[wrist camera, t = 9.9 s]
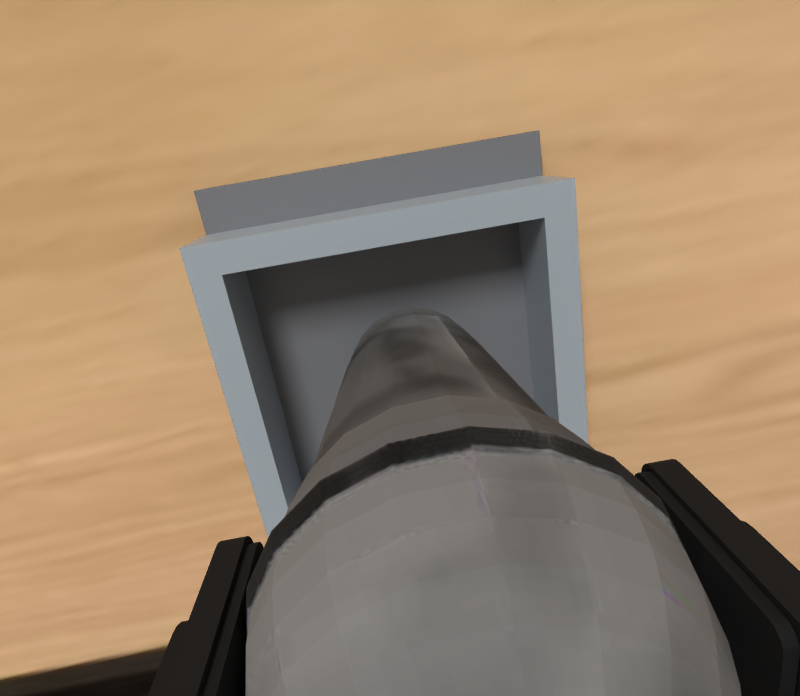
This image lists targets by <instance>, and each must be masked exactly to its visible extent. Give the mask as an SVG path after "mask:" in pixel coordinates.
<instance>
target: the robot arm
mask: <svg viewBox="0 0 800 696" xmlns="http://www.w3.org/2000/svg"><path fill="white" fill-rule="evenodd" d="M635 477H636V478H637V479H639V480H640V481H641V482H642V483H643V484H644V485H645V486H646V487H648V488H649V489H650V490H651V491H652V492H653V493H654V494H656V495H657V496H658V497H659V498H660V499H661V500H662V502H663V504H664V506H665V508H666V510H667V512H668V515H669V517H670V519H671V521H672V523H673V525H674V527H675V529H676V531H677V533H678V535H679V537H680V539H681V541H682V543H683V545H684V548H685V550H686V552H687V554H688V557H689V559H690V561H691V563H692V565H693V567H694V570H695V572H696V574H697V576H698V578H699V580H700V582H701V584H702V586H703V588H704V590H705V592H706V594H707V596H708V598H709V600H710V603H711V605H712V607H713V609H714V611H715V613H716V616H717V618H718V620H719V622H720V624H721V627H722V629H723V631H724V633H725V635H726V638H727V640H728V642H729V646H730V649H731V653H732V657H733V660H734V664H735V668H736V672H737V675H738V679H739V683H740V688H741V696H800V571H799V570H798V569H797V568H796V567H795V566H794V565H792V564H791V563H790V562H789V561H788V560H787V559H786V558H785V557H784V556H783V555H782V554H781V553H780V552H779V551H778V550H776V549H775V548H774V547H773V546H772V545H771V544H770V543H769V542H768V541H767V540H766V539H765V538H764V537H763V536H762V535H760V534H759V533H758V532H757V531H756V530H755V529H754V528H753V527H752V526H750V525H749V524H748V523H746V522H744V521H741V520H739V519H738V518H737V517H736V516H735V515H734V514H733V513H732V512H731V511H730V510H729V509H728V508H727V507H726V506H725V505H724V504H723V503H722V502H721V501H720V500H718V499H717V498H716V497H715V496H714V495H713V494H712V493H711V492H710V491H709V490H708V489H707V488H706V487H705V486H704V485H703V484H702V483H701V482H700V481H698V480H697V479H696V478H695V477H694V476H693V475H692V474H691V473H690V472H689V471H688V470H687V469H686V468H685V467H684V466H683V465H682V464H681V463H680V462H678V461H677V460H675V459H670V460H664V461H659V462H653V463H648V464H645V465H643V467H642V472H641V473H637V474H635ZM263 549H264V548H263V545H262V544H261V542H256V543H253V541H252V539H251V538H250V537H249V536H246V537H241V538H235V539H230V540H224V541H220V542H219V543H218V544H217V546H216V549H215V551H214V554H213V557H212V559H211V562H210V565H209V567H208V570H207V573H206V575H205V578H204V581H203V583H202V586H201V589H200V591H199V594H198V597H197V599H196V602H195V604H194V607H193V610H192V612H191V615H190V618H189V620H188V621H183V622H181V623H180V624H179V625H177V627H176V628H175V630H174V632H173V634H172V637H171V639H170V642H169V644H168V647H167V649H166V652H165V654H164V657H163V659H162V662H161V664H160V667H159V669H158V672H157V674H156V677H155V679H154V682H153V684H152V687H151V689H150V692H149V694H148V696H245V689H246V641H247V633H246V590H247V586H248V583H249V581H250V579H251V577H252V574H253V572H254V570H255V567H256V565H257V563H258V560H259V558H260V556H261V553H262V551H263Z"/></svg>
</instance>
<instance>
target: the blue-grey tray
mask: <svg viewBox="0 0 800 696" xmlns="http://www.w3.org/2000/svg"><path fill="white" fill-rule="evenodd" d="M194 193H195V197H196V200H197V204H198V207H199V211H200V214H201V218H202V221H203V225H204V228H205V232H206V235H205V236H203V237H201V238H199V239H197V240H195V241H193V242H191V243H189V244H187V245H185V246H183V247H181V248H179V249H180V252H181V256H182V259H183V262H184V265H185V269H186V272H187V275H188V278H189V282H190V285H191V288H192V292H193V295H194V298H195V301H196V305H197V308H198V311H199V314H200V318H201V321H202V324H203V327H204V331H205V334H206V337H207V341H208V344H209V347H210V350H211V354H212V357H213V360H214V363H215V367H216V370H217V373H218V377H219V380H220V383H221V386H222V390H223V393H224V396H225V399H226V403H227V406H228V409H229V412H230V416H231V419H232V422H233V426H234V429H235V432H236V435H237V439H238V442H239V445H240V448H241V452H242V455H243V458H244V462H245V465H246V468H247V471H248V475H249V478H250V481H251V484H252V488H253V491H254V494H255V497H256V501H257V504H258V507H259V511H260V514H261V517H262V520H263V524H264V527H265V530H266V533H267V537H269V535H270V533H271V531H272V530H273V529H274V528H275V527H276V526H277V525H278V523H279V522H280V521H281V520H282V519H283V518H284V517H285V515H286V512H287V510H288V508H289V506H290V503H291V502H292V500H293V498H294V496H295V495H296V493H297V491H298V490H299V488H300V486H301V484H302V483H303V481H304V479H305V477H306V476H307V474H308V472H309V471H310V470H311V469H312V468H313V465H314V462H315V459H316V456H317V453H318V450H319V447H320V445H321V442H322V439H323V436H324V433H325V430H326V427H327V424H328V421H329V418H330V415H331V412H332V410H333V407H334V404H335V401H336V398H337V395H338V392H339V389H340V386H341V383H342V380H343V378H344V375H345V372H346V369H347V366H348V364H349V362H350V360H351V357H352V355H353V353H354V350H355V348H356V347H357V345H358V343H359V341H360V338H361V336H362V335H363V334H364V333H365V332H366V331H367V329H368V328H369V327H370V326H371V325H372V324H373V323H374V322H375V321H377V320H378V319H380V318H382V317H384V316H385V315H387V314H389V313H391V312H394V311H398V310H403V309H407V308H422V309H431V310H434V311H436V312H439V313H441V314H443V315H446V316H448V317H450V318H451V319H452V320H453V321H454V322H455V323H457V324H458V325H460V326H461V327H462V328H463V329H464V330H465V331H466V332H468V333H469V334H470V335H471V336H472V337H473V338H474V339H476V340H477V342H478V343H479V344H480V345H481V346H482V347H483V348H484V349H485V350H486V351H487V352H488V353H489V354H490V355H491V356H492V357H493V358H494V359H495V360H496V361H497V363H498V364H499V365H500V366H501V367H502V368H503V369H504V370H505V371H506V372H507V373H508V374H509V375H510V376H511V377H512V378H513V379H514V380H515V381H516V383H517V384H518V385H519V386H520V387H521V388H522V389H523V390H524V391H525V392H526V393H527V394H528V395H529V396H530V397H531V398H532V399H533V400H534V401H535V402H536V404H537V405H538V406H539V407H540V408H541V409H542V410H543V411H544V412H545V413H546V414H547V415H548V416H549V417H551V418H553V419H554V420H556V421H557V422H559V423H560V424H562V425H563V426H564V427H566V428H567V429H569V430H570V431H571V432H573V433H574V434H576V435H577V436H578V437H580V438H581V439H583V440H584V441H585V442H586V443H587V444H588V430H587V409H586V389H585V369H584V349H583V329H582V309H581V288H580V268H579V248H578V228H577V208H576V187H575V178H567V177H554V176H542V162H541V147H540V133H539V130H538V131H533V132H527V133H521V134H515V135H510V136H504V137H498V138H493V139H487V140H481V141H476V142H470V143H464V144H458V145H453V146H447V147H441V148H436V149H430V150H424V151H419V152H413V153H407V154H401V155H396V156H390V157H384V158H379V159H373V160H367V161H362V162H356V163H350V164H344V165H339V166H333V167H327V168H322V169H316V170H310V171H305V172H299V173H293V174H287V175H282V176H276V177H270V178H265V179H259V180H253V181H248V182H242V183H236V184H230V185H225V186H219V187H213V188H208V189H202V190H196V191H194Z"/></svg>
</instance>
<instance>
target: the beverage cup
mask: <svg viewBox="0 0 800 696" xmlns="http://www.w3.org/2000/svg"><path fill="white" fill-rule="evenodd" d="M246 633H247V641H246V689H245V696H741V688H740V683H739V679H738V675H737V672H736V668H735V664H734V660H733V657H732V653H731V649H730V646H729V642H728V640H727V638H726V635H725V633H724V631H723V629H722V627H721V624H720V622H719V620H718V618H717V616H716V613H715V611H714V609H713V607H712V605H711V603H710V600H709V598H708V596H707V594H706V592H705V590H704V588H703V586H702V584H701V582H700V580H699V578H698V576H697V574H696V572H695V570H694V567H693V565H692V563H691V561H690V559H689V557H688V554H687V552H686V550H685V548H684V545H683V543H682V541H681V539H680V537H679V535H678V533H677V531H676V529H675V527H674V525H673V523H672V521H671V519H670V517H669V515H668V512H667V510H666V508H665V506H664V504H663V502H662V500H661V499H660V498H659V497H658V496H657V495H656V494H654V493H653V492H652V491H651V490H650V489H649V488H648V487H646V486H645V485H644V484H643V483H642V482H641V481H640V480H639V479H637V478H636V477H635V476H634V475H633V474H632V473H631V472H629V471H628V470H627V469H626V468H625V467H624V466H623V465H621V464H620V463H619V462H618V461H617V460H616V459H615V458H613V457H611V456H609V455H606V454H603V453H601V452H598V451H596V450H594V449H593V448H592V447H591V446H590V445H589V444H587V443H586V442H585V441H584V440H583V439H581V438H580V437H578V436H577V435H576V434H574V433H573V432H571V431H570V430H569V429H567V428H566V427H564V426H563V425H562V424H560V423H559V422H557V421H556V420H554V419H553V418H551V417H549V416H548V415H547V414H546V413H545V412H544V411H543V410H542V409H541V408H540V407H539V406H538V405H537V404H536V402H535V401H534V400H533V399H532V398H531V397H530V396H529V395H528V394H527V393H526V392H525V391H524V390H523V389H522V388H521V387H520V386H519V385H518V384H517V383H516V381H515V380H514V379H513V378H512V377H511V376H510V375H509V374H508V373H507V372H506V371H505V370H504V369H503V368H502V367H501V366H500V365H499V364H498V363H497V361H496V360H495V359H494V358H493V357H492V356H491V355H490V354H489V353H488V352H487V351H486V350H485V349H484V348H483V347H482V346H481V345H480V344H479V343H478V342H477V340H476V339H474V338H473V337H472V336H471V335H470V334H469V333H468V332H466V331H465V330H464V329H463V328H462V327H461V326H460V325H458V324H457V323H455V322H454V321H453V320H452V319H451V318H450V317H448V316H446V315H443V314H441V313H439V312H436V311H434V310H431V309H422V308H407V309H403V310H398V311H394V312H391V313H389V314H387V315H385V316H384V317H382V318H380V319H378V320H377V321H375V322H374V323H373V324H372V325H371V326H370V327H369V328H368V329H367V331H366V332H365V333H364V334H363V335H362V336H361V338H360V341H359V343H358V345H357V347H356V348H355V350H354V353H353V355H352V357H351V360H350V362H349V364H348V366H347V369H346V372H345V375H344V378H343V380H342V383H341V386H340V389H339V392H338V395H337V398H336V401H335V404H334V407H333V410H332V412H331V415H330V418H329V421H328V424H327V427H326V430H325V433H324V436H323V439H322V442H321V445H320V447H319V450H318V453H317V456H316V459H315V462H314V465H313V468H312V469H311V470H310V471H309V472H308V474H307V476H306V477H305V479H304V481H303V483H302V484H301V486H300V488H299V490H298V491H297V493H296V495H295V496H294V498H293V500H292V502H291V503H290V506H289V508H288V510H287V512H286V515H285V517H284V518H283V519H282V520H281V521H280V522H279V523H278V525H277V526H276V527H275V528H274V529H273V530H272V531H271V533H270V535H269V537H268V540H267V542H266V544H265V547H264V549H263V551H262V553H261V556H260V558H259V560H258V563H257V565H256V567H255V570H254V572H253V574H252V577H251V579H250V581H249V583H248V586H247V590H246Z"/></svg>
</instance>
